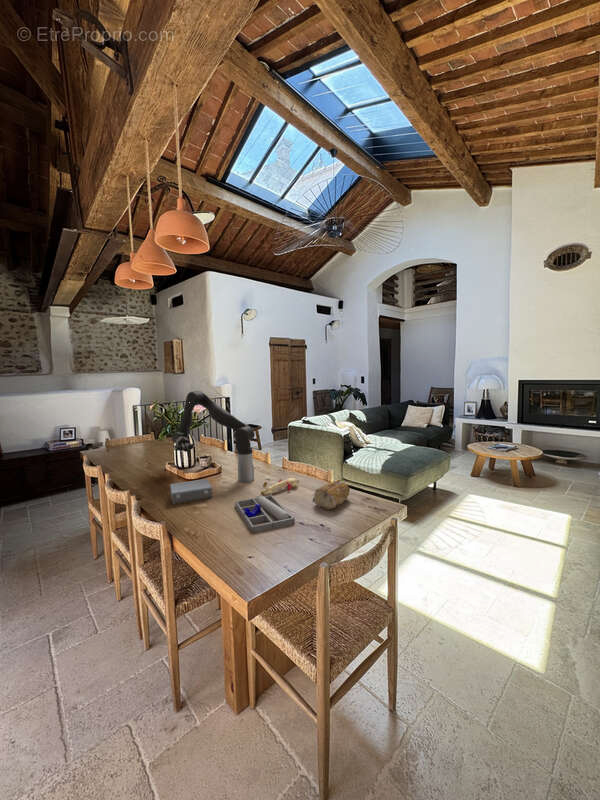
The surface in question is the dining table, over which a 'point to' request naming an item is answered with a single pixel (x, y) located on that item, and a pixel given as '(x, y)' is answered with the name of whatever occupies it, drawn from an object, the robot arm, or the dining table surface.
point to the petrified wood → (331, 494)
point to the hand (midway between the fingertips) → (186, 450)
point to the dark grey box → (191, 496)
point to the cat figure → (279, 486)
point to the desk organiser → (262, 515)
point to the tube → (272, 508)
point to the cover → (190, 486)
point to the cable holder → (254, 512)
